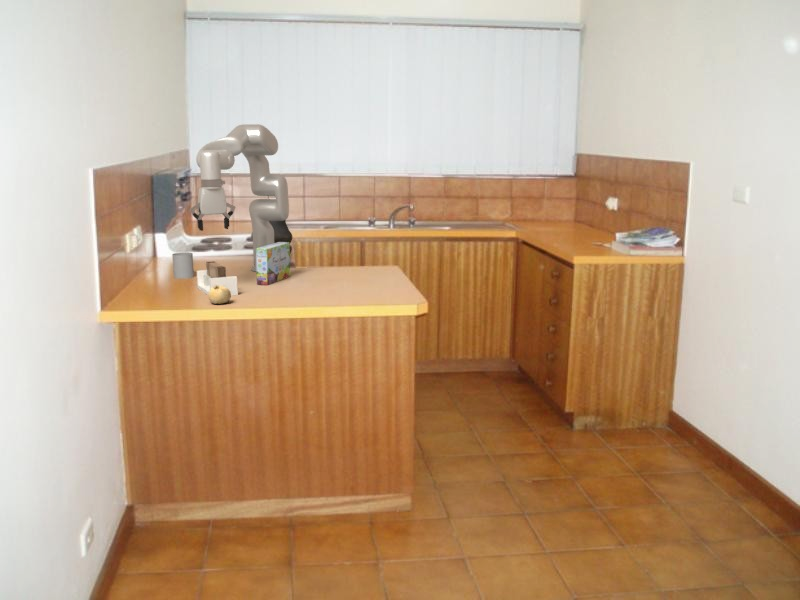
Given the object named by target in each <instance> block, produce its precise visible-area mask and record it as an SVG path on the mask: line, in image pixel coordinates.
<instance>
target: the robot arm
mask: <svg viewBox="0 0 800 600" xmlns="http://www.w3.org/2000/svg"><path fill="white" fill-rule="evenodd" d="M278 150H279V142H278V139H277V137H276V136H275V134H273V133H272V131H270V129H268V128H267V127H266V126H264V125H262V124H258V123H257V124H256V123H255V124H251V123H250V124H245V123H244V124H239V125H237V126H235V127H234V128H233V129H232V130H231V131H230V132H229V133H228V134H227V135H226V136H224V137H220V138H218V139H216V140H213V141H210V142H208V143H205V145H204V146H202V147H201V148H200V149H199V150H198V152H197V155H196V158H195V160H196V165H197V166H198V167H199V171H200V186H201V187H199V188H198V195H197V204H195V205H194V206H192V207H190V208H189V212H190V213H191V215H192V216H193V217H194V218H195V220H197V228H198V229H199V231H201V232H202V231H204V222H203V221H204V220H203V218H204V216H205V215H206V216H211V215H222V216H223V217H224V218H223V227H224V229H225V230H229V227H230V219H231V217H232V216H233V214H234V212H235V210H236V206H235V205H232V204H231V203H228V202H227V197H226V194H225V188H224V187H223V185H225V184H226V180H223V179H222V171H223V170H224V171H225V170H226V171H227V170H230V169H231V168H232V167H233V166H234V165H235V161H236V159H235V157H236V156H238V155H240V154H242V155H243V156H244V157H245V159H246V160H247V163H248V167H249V177H250V178H249V181H250V189H251V193H252V194H253V195H254V196H257V197H258V196H259V197H275V198H255V199H253V200H251V202H249V206H248V212H249V216H250V222H251V231H252V232H251V234H253V240H252V252H253V253H252V254H253V266H251V267H250V271H252V272H256V273H257V264H256V248H259V247H263V246H266V245H270V244H273V243H274V229H273V227H272V225H271V224H270V223H269V221H284V220H287V219H288V218H289V216H290V203H289V202H290V201H289V187H288V181H287V178H286V177H285V176H284V175H283V174H280V173H279V174H278V173H276V174H275V173H272V174H271V172H270V163H269V160H268V158H267V157H266V156H274V155H276V154H277V152H278ZM228 208H229V211H228ZM196 210H197V211H198V214H197V213H196ZM227 211H228V212H227Z"/></svg>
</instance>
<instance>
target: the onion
mask: <svg viewBox="0 0 800 600" xmlns="http://www.w3.org/2000/svg"><path fill="white" fill-rule="evenodd" d="M207 297H208V300H209V302H210V303H211V304H215V305H216V304H219V305H220V304H228V303H229V302H230V300H231V297H232V295H231V292H230V291H229V289H228V288H226V287H225V286H219V285H215V286H213V288H212V289H211V290H210V291H209V294H208V295H207Z"/></svg>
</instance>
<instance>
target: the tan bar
mask: <svg viewBox="0 0 800 600" xmlns="http://www.w3.org/2000/svg"><path fill="white" fill-rule="evenodd" d="M205 263H206V264H205V265H206V270H207V275H209V276H211V277H213V278H220V277H227V269H226V266H224V265H221V264H220V263H218V262H216V261H214V260H213V261H206V262H205Z"/></svg>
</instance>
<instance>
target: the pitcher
mask: <svg viewBox="0 0 800 600" xmlns="http://www.w3.org/2000/svg"><path fill="white" fill-rule="evenodd" d="M286 220H287V219H286ZM286 220H284V221H269V223H270V224H271V225H272V227H273V229H274V243H277V242H289V243H290V244H291V243H292V241H293V240H292V239H293V234H292V232H291V231H290V229H289V227H288V225H287V222H286ZM250 236H251V240H252V241H253V234H252V233H251V235H250Z"/></svg>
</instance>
